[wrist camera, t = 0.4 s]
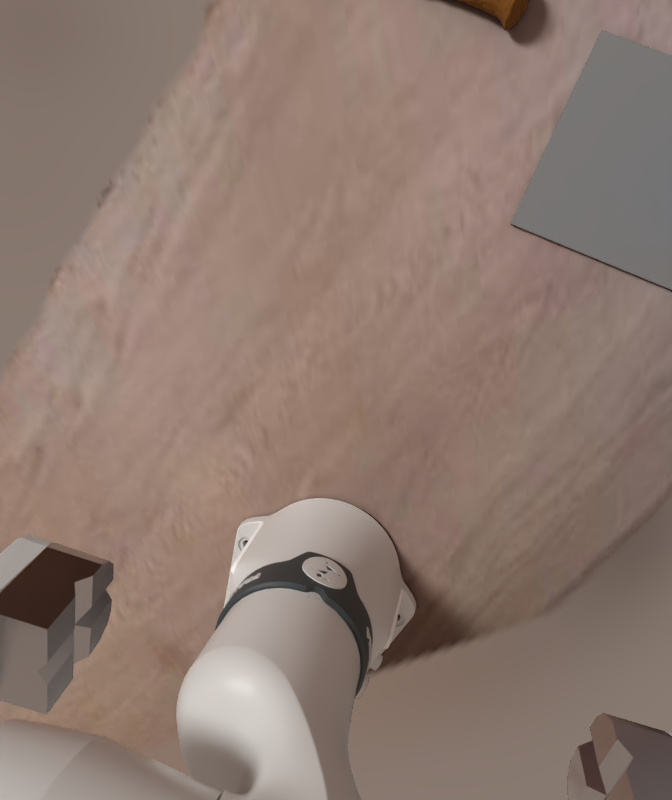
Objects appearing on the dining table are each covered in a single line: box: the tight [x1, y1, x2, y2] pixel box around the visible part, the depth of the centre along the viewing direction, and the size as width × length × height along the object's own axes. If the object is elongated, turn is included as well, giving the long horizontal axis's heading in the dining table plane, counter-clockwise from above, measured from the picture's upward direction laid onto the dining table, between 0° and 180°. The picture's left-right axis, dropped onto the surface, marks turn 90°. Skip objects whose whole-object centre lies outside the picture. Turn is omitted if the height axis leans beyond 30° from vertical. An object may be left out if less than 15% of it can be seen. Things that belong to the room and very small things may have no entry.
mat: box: [511, 30, 672, 290], centre depth 45 cm, size 15×15×1 cm
